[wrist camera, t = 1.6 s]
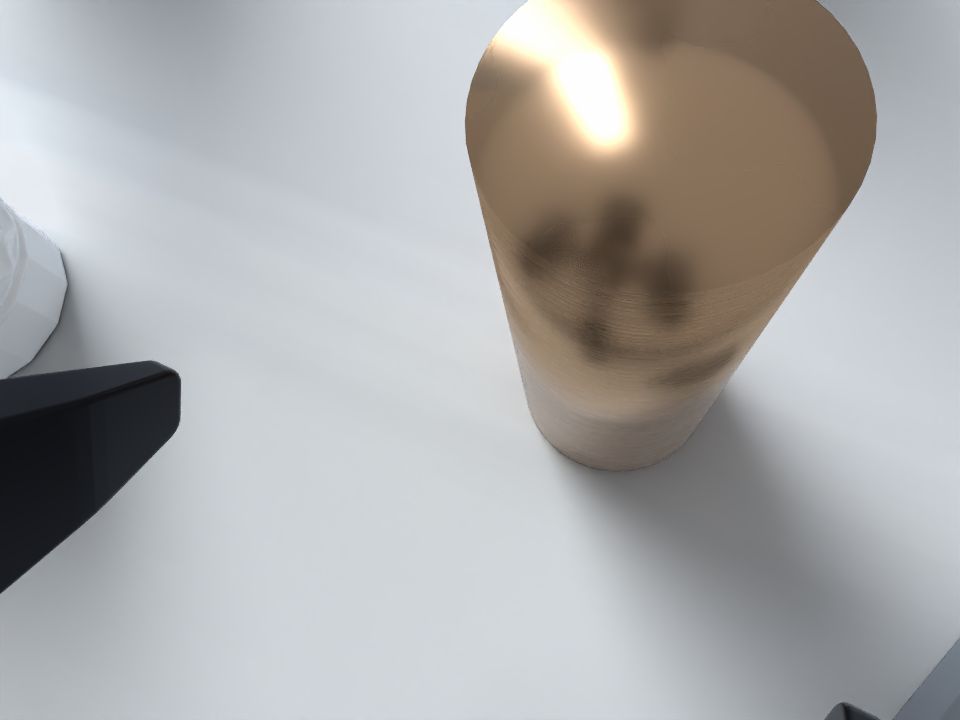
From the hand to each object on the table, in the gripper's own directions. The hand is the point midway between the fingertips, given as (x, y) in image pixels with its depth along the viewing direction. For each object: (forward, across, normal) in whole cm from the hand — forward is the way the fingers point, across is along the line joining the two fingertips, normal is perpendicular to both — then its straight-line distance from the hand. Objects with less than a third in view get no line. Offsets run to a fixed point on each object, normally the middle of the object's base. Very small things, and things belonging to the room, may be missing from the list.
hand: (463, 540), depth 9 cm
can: (+13, 0, +4) cm, 14 cm away
